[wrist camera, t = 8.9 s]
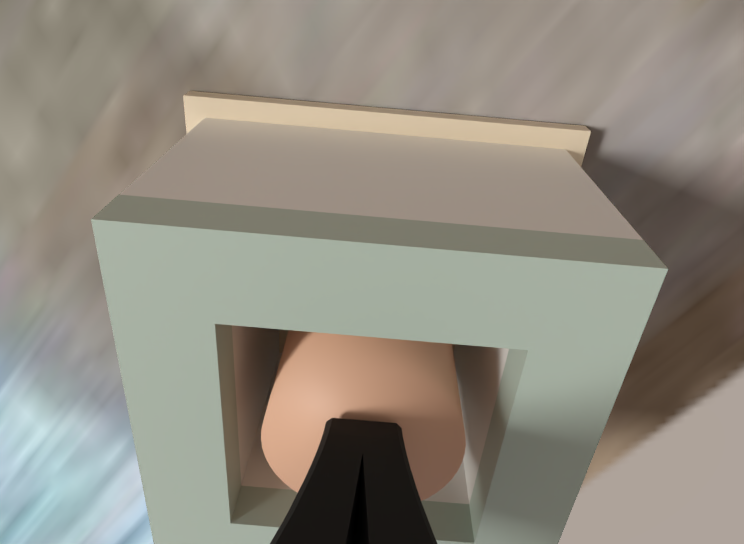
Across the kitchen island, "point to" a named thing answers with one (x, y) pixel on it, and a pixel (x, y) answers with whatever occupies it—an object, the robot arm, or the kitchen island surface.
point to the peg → (365, 402)
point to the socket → (370, 300)
